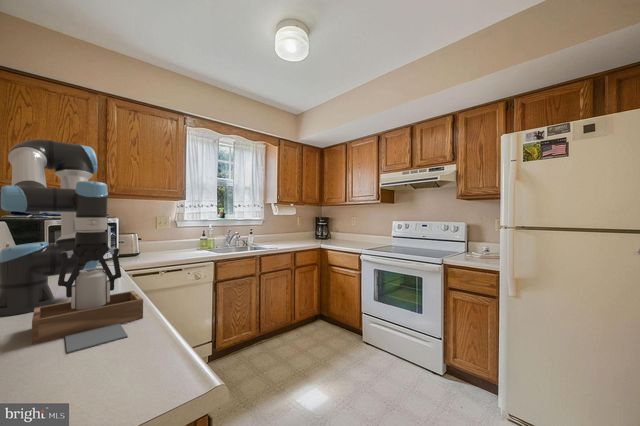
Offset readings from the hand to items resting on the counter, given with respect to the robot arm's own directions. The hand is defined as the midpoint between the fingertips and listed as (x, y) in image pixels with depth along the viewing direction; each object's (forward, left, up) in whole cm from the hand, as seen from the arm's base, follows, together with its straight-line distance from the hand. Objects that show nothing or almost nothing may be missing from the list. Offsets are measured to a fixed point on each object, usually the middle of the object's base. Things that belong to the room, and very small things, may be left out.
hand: (91, 304), depth 82 cm
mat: (+14, 0, -6) cm, 16 cm away
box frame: (0, 0, -6) cm, 6 cm away
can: (0, 0, -1) cm, 1 cm away
